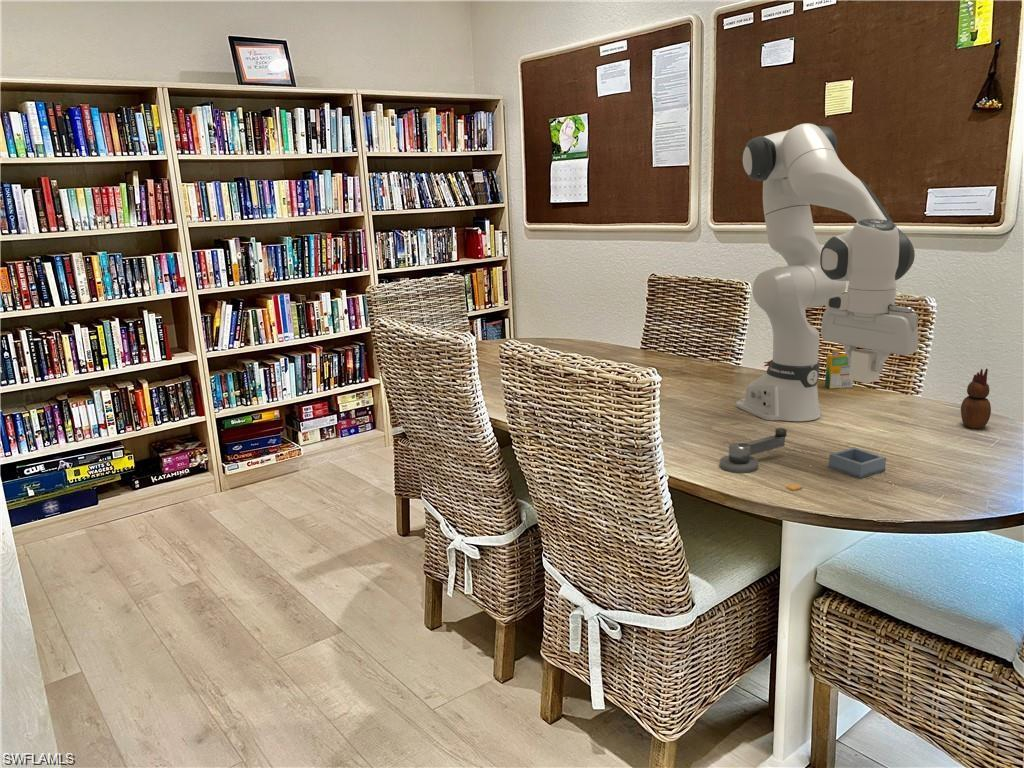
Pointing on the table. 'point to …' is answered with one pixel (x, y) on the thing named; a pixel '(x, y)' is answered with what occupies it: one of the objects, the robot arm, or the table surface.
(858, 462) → the tray
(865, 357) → the cream block
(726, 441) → the table surface
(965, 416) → the wooden figurine
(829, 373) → the crayon box
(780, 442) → the crank arm
